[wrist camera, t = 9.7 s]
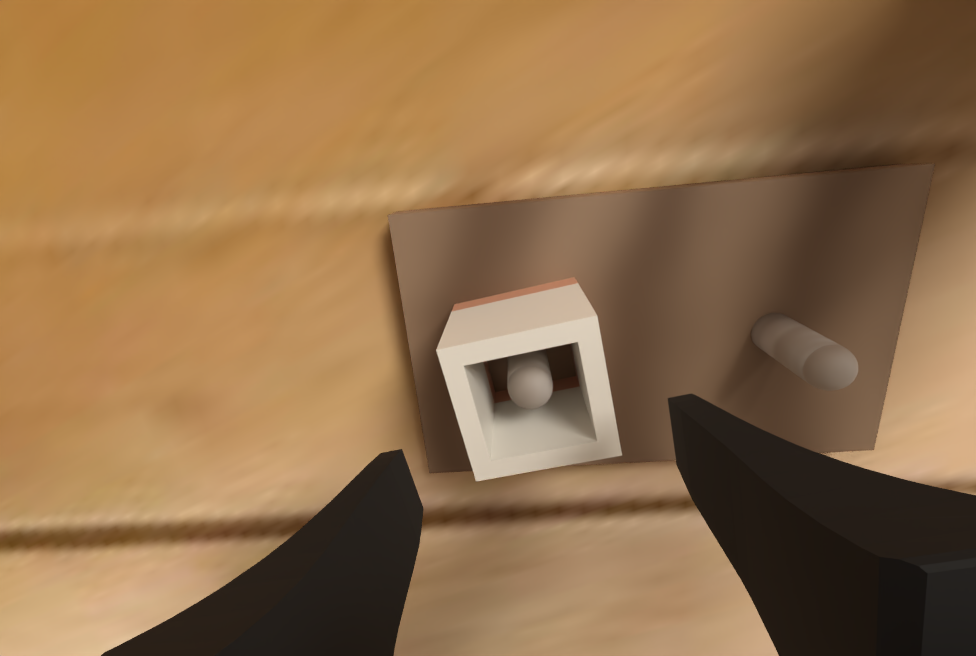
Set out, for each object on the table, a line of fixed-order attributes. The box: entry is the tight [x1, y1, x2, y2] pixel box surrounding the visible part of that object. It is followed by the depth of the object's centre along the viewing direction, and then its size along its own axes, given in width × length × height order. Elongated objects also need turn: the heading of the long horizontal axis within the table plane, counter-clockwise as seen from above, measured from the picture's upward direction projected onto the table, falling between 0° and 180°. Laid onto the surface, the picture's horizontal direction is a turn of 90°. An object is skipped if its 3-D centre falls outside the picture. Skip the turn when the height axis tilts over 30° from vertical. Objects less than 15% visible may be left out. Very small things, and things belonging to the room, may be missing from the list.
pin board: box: [388, 164, 935, 473], centre depth 18 cm, size 20×12×6 cm, turn 95°
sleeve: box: [436, 277, 622, 481], centre depth 17 cm, size 5×5×5 cm
